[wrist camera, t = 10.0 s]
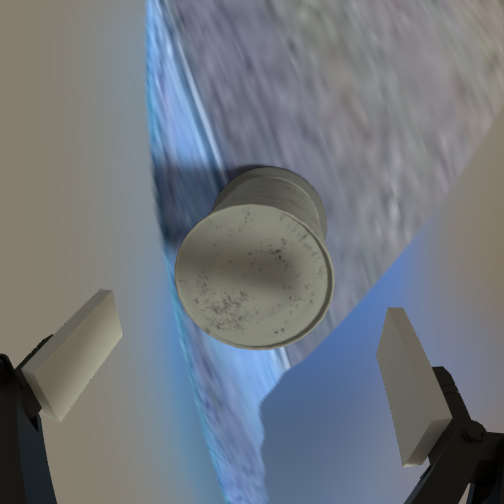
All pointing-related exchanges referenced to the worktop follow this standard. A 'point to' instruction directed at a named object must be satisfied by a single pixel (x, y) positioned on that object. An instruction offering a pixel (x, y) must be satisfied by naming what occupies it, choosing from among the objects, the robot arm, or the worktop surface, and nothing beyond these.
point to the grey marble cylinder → (257, 267)
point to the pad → (282, 174)
